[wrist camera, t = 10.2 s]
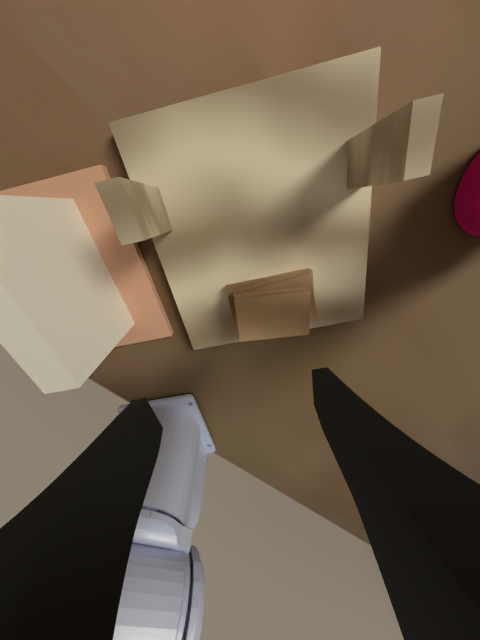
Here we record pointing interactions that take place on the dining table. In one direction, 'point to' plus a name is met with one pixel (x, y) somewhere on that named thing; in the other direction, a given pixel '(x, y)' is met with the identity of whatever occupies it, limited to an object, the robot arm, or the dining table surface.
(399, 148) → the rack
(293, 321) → the offcut stack
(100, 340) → the white upright panel
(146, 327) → the mat
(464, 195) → the pepper mill
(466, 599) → the robot arm
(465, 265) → the dining table surface
